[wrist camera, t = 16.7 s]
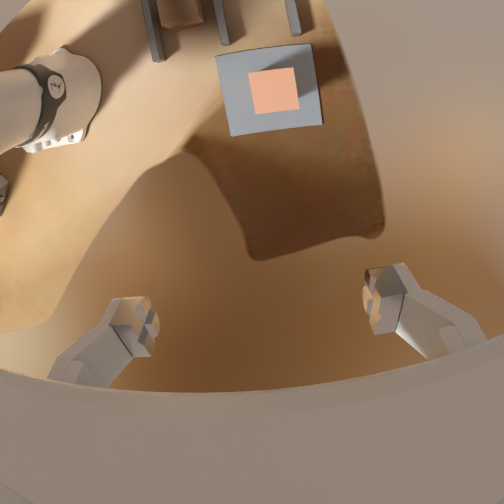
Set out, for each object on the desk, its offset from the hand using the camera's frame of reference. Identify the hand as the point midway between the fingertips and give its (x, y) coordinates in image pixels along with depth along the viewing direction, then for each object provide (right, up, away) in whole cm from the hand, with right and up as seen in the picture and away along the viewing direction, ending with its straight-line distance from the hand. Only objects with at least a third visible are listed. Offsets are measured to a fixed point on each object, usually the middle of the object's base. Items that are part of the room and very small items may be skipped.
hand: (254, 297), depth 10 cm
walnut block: (-10, +37, +21) cm, 43 cm away
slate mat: (+3, +26, +28) cm, 38 cm away
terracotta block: (+2, +25, +27) cm, 37 cm away
